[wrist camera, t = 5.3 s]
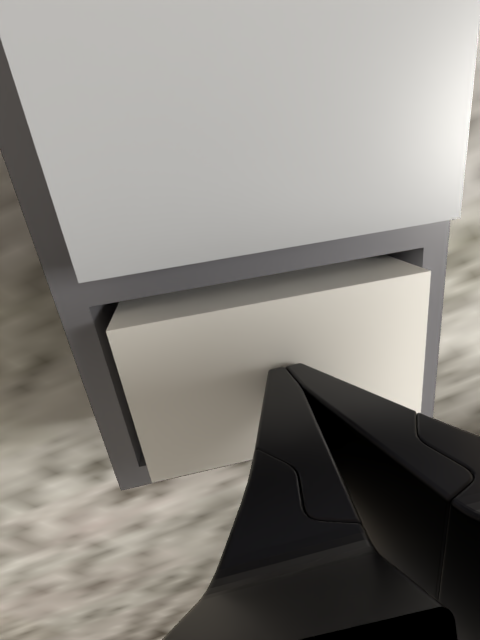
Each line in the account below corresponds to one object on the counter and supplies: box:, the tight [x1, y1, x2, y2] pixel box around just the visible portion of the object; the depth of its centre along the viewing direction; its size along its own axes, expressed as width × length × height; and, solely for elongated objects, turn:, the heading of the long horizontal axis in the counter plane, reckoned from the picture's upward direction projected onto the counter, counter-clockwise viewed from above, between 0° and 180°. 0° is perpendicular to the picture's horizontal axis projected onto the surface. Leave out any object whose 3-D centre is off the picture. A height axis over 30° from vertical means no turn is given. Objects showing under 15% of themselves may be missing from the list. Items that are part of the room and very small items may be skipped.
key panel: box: [0, 38, 450, 490], centre depth 10 cm, size 18×10×4 cm, turn 8°
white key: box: [106, 254, 431, 483], centre depth 10 cm, size 4×8×3 cm, turn 98°
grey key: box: [0, 0, 480, 283], centre depth 7 cm, size 4×8×3 cm, turn 98°
